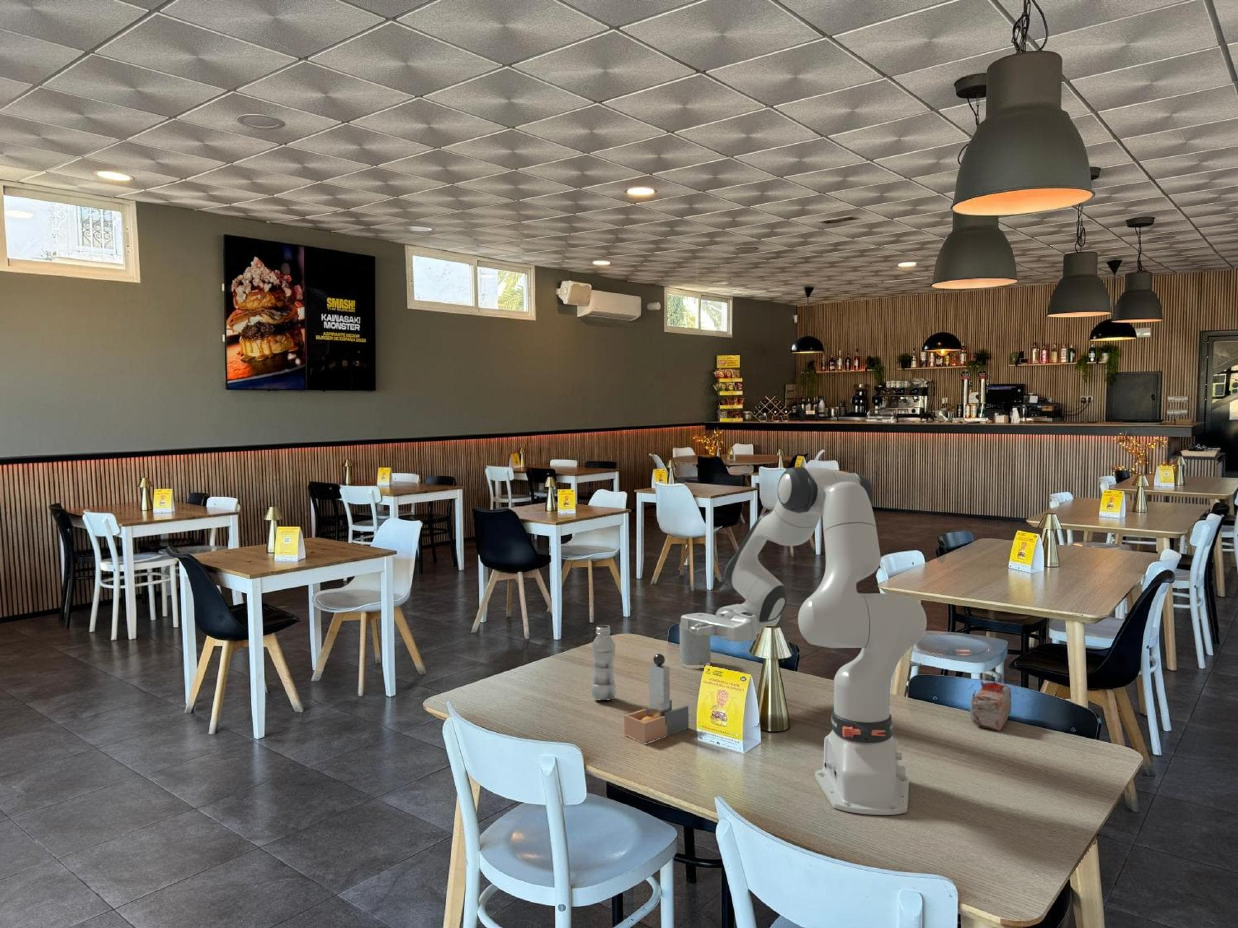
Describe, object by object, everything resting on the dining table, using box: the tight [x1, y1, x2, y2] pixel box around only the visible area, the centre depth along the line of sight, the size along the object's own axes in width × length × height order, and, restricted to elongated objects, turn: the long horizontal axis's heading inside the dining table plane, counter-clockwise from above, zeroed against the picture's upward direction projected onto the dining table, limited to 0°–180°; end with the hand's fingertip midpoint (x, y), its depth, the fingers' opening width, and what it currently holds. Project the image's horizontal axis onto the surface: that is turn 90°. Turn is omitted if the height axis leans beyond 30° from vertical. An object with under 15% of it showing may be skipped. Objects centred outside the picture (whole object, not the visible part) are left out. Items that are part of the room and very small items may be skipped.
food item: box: [969, 680, 1012, 732], centre depth 203 cm, size 14×8×10 cm, turn 146°
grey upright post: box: [647, 653, 671, 719], centre depth 199 cm, size 3×5×16 cm
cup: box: [623, 708, 668, 744], centre depth 197 cm, size 7×7×5 cm
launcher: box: [646, 699, 690, 736], centre depth 202 cm, size 8×7×6 cm
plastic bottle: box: [591, 624, 617, 700], centre depth 223 cm, size 6×7×20 cm
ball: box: [641, 716, 653, 722], centre depth 198 cm, size 4×4×4 cm
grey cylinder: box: [679, 623, 711, 667], centre depth 254 cm, size 10×10×12 cm
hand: (694, 631), depth 207 cm, fingers closed
